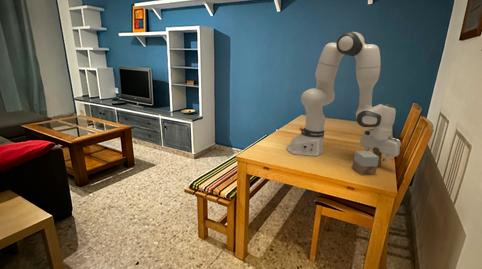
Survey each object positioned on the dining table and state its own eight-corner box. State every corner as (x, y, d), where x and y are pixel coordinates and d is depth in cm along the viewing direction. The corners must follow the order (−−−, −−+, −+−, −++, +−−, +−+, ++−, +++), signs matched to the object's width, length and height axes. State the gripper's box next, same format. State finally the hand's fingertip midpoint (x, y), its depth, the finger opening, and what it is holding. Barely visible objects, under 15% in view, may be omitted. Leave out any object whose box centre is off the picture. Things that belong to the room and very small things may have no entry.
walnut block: (360, 175, 125) (362, 166, 124) (351, 168, 133) (353, 160, 131) (375, 174, 127) (377, 165, 125) (365, 168, 134) (367, 159, 133)
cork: (366, 162, 141) (370, 144, 138) (378, 163, 140) (382, 145, 137) (371, 167, 135) (375, 148, 132) (382, 167, 135) (387, 149, 131)
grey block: (362, 166, 124) (363, 157, 123) (353, 159, 132) (355, 151, 130) (377, 166, 125) (379, 157, 123) (368, 159, 132) (370, 151, 131)
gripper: (405, 139, 126) (398, 164, 130) (367, 128, 142) (362, 151, 146) (398, 141, 122) (392, 166, 127) (360, 130, 139) (356, 153, 143)
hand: (376, 158), depth 137 cm, fingers open, 8 cm apart
